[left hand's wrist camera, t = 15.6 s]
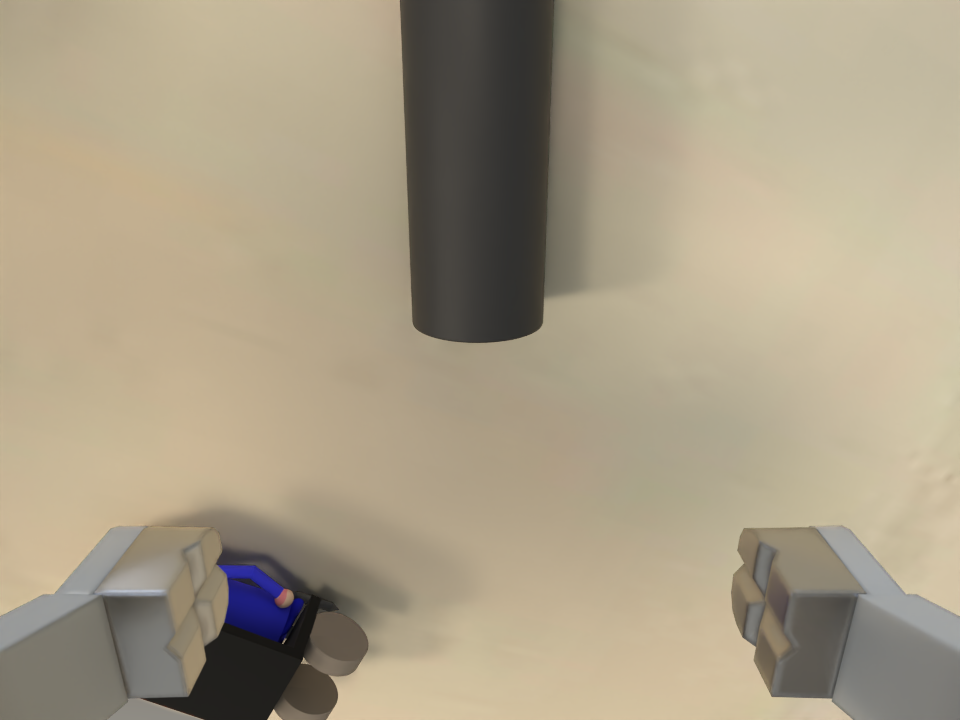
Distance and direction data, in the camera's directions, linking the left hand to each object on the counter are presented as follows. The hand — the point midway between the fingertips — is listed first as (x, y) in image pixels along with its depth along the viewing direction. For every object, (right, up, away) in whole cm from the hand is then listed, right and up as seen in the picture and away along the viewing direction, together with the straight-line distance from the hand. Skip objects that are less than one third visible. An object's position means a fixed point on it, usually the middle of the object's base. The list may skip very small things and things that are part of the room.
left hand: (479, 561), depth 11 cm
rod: (0, +16, +20) cm, 26 cm away
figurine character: (-14, -11, +31) cm, 35 cm away
